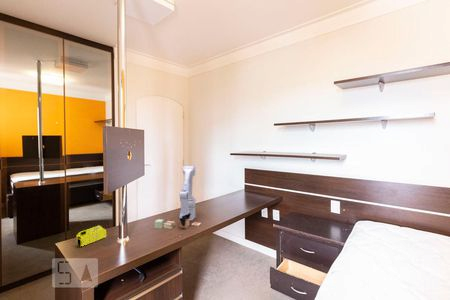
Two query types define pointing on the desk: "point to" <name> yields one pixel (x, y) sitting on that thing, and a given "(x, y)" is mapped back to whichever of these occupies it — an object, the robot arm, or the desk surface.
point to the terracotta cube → (186, 223)
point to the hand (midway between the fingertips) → (185, 224)
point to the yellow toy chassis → (90, 235)
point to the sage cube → (159, 223)
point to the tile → (196, 223)
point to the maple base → (169, 224)
